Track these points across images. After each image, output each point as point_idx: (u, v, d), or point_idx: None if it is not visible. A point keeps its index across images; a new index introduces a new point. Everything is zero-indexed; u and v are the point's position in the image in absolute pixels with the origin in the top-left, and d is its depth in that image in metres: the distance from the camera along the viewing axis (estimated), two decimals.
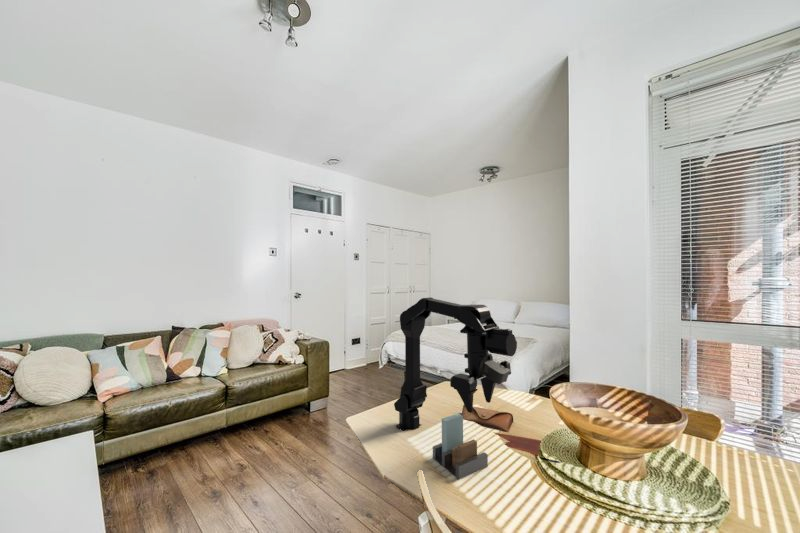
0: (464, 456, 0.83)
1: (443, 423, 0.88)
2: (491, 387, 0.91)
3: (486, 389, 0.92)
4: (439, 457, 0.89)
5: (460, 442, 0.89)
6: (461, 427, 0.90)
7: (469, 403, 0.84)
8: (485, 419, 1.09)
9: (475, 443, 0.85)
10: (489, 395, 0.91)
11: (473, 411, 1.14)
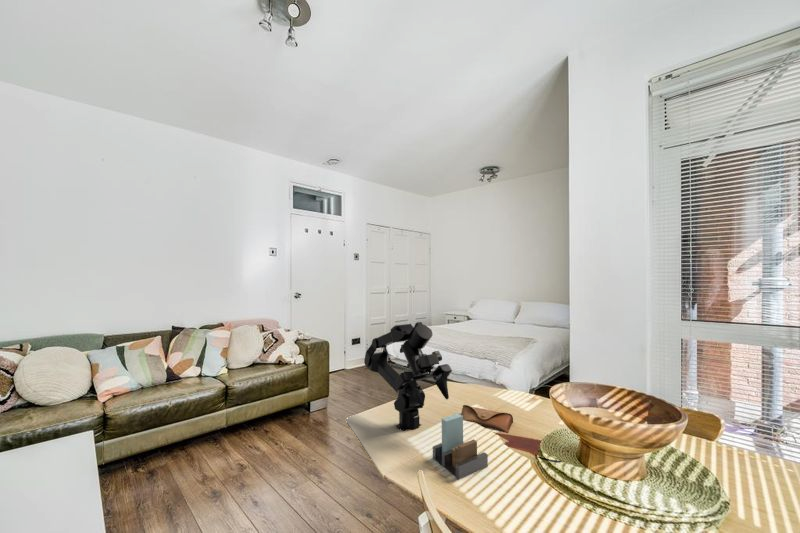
0: (464, 456, 0.83)
1: (443, 423, 0.88)
2: (443, 383, 1.00)
3: (442, 389, 1.01)
4: (439, 457, 0.89)
5: (460, 442, 0.89)
6: (461, 427, 0.90)
7: (417, 396, 0.94)
8: (484, 419, 1.09)
9: (475, 443, 0.85)
10: (445, 391, 0.99)
11: (473, 412, 1.14)
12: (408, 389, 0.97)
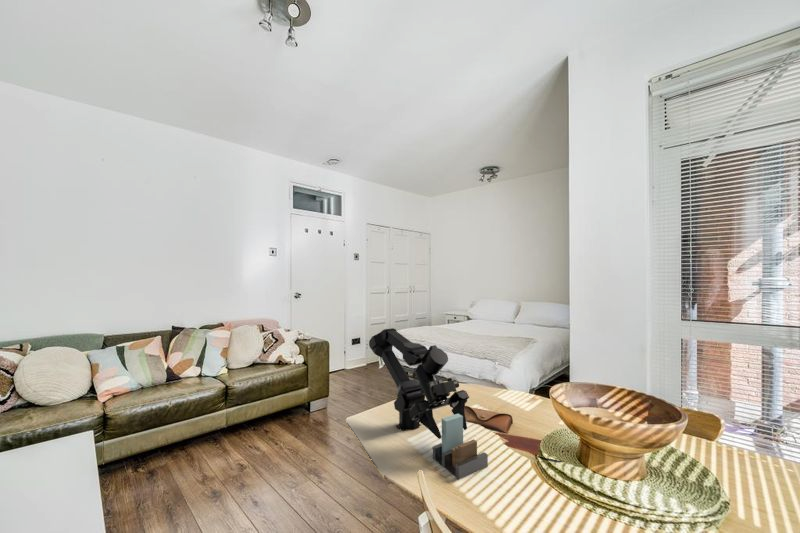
0: (464, 456, 0.83)
1: (443, 423, 0.88)
2: (460, 412, 0.93)
3: None
4: (439, 457, 0.89)
5: (460, 442, 0.89)
6: (461, 427, 0.90)
7: (433, 427, 0.87)
8: (483, 420, 1.08)
9: (475, 443, 0.85)
10: None
11: (472, 412, 1.13)
12: (423, 419, 0.90)
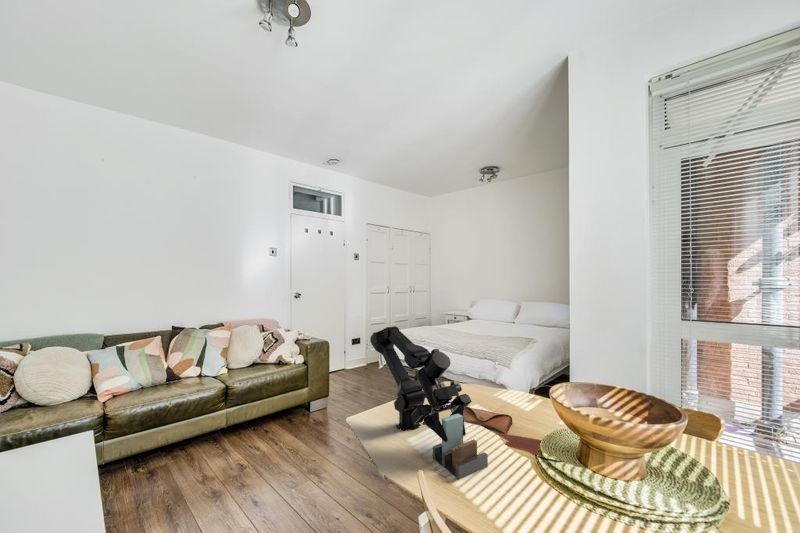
0: (464, 456, 0.83)
1: (443, 423, 0.88)
2: None
3: None
4: (439, 457, 0.89)
5: (460, 442, 0.89)
6: (461, 427, 0.90)
7: (440, 431, 0.87)
8: (483, 421, 1.08)
9: (475, 443, 0.85)
10: None
11: (472, 413, 1.13)
12: (430, 422, 0.90)
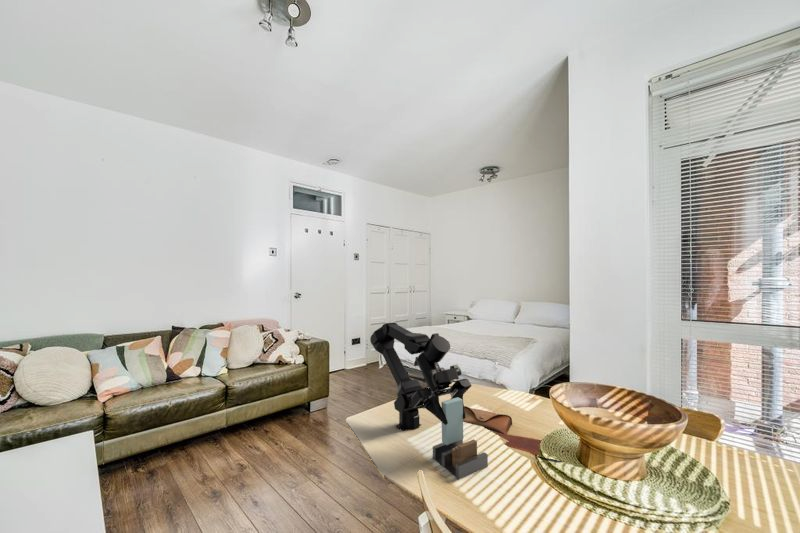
0: (464, 456, 0.83)
1: (443, 406, 0.88)
2: None
3: None
4: (439, 457, 0.89)
5: (460, 425, 0.89)
6: (461, 410, 0.90)
7: (440, 414, 0.87)
8: (482, 421, 1.08)
9: (475, 443, 0.85)
10: None
11: (471, 413, 1.13)
12: (429, 406, 0.90)
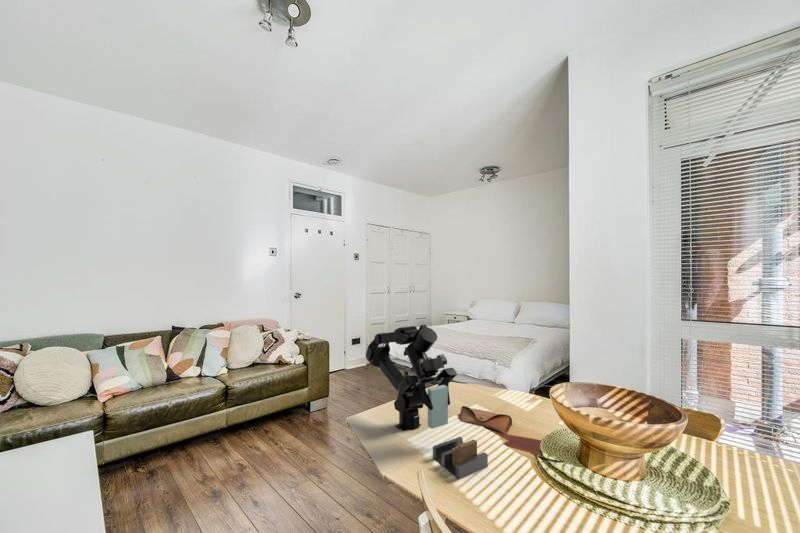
0: (464, 456, 0.83)
1: (429, 392, 0.94)
2: None
3: None
4: (439, 457, 0.89)
5: (445, 411, 0.95)
6: (446, 397, 0.95)
7: (426, 400, 0.93)
8: (482, 421, 1.08)
9: (475, 443, 0.85)
10: None
11: (471, 413, 1.13)
12: (416, 392, 0.96)
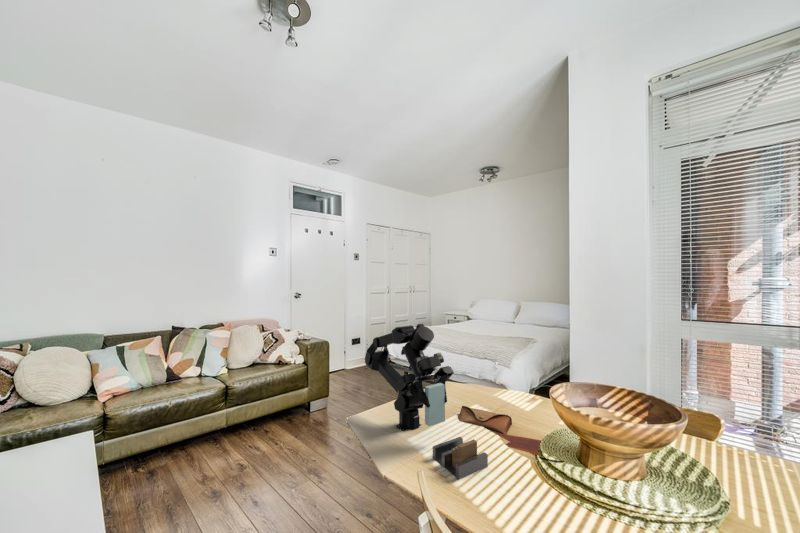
0: (464, 456, 0.83)
1: (426, 390, 0.95)
2: None
3: None
4: (439, 457, 0.89)
5: (442, 408, 0.96)
6: (443, 395, 0.97)
7: (423, 397, 0.94)
8: (482, 421, 1.08)
9: (475, 443, 0.85)
10: None
11: (471, 413, 1.13)
12: (414, 390, 0.97)
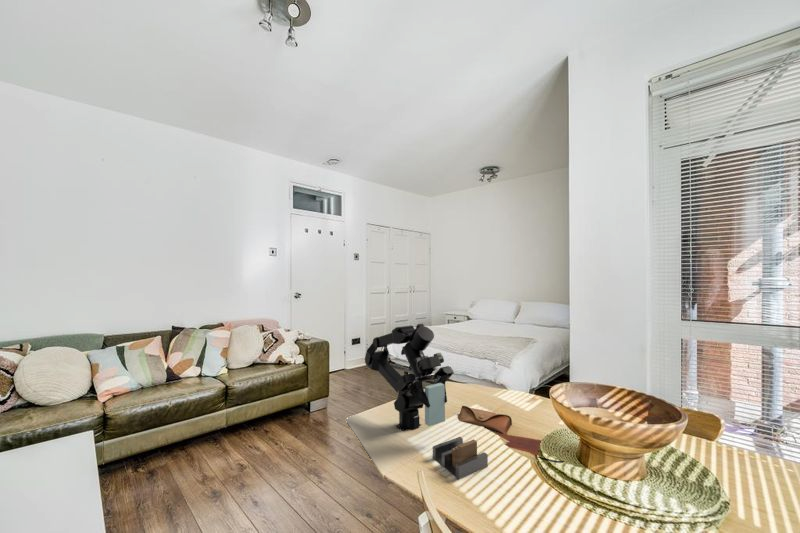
0: (464, 456, 0.83)
1: (426, 390, 0.95)
2: None
3: None
4: (439, 457, 0.89)
5: (442, 408, 0.96)
6: (443, 395, 0.97)
7: (423, 397, 0.94)
8: (482, 421, 1.08)
9: (475, 443, 0.85)
10: None
11: (471, 413, 1.13)
12: (414, 390, 0.97)
